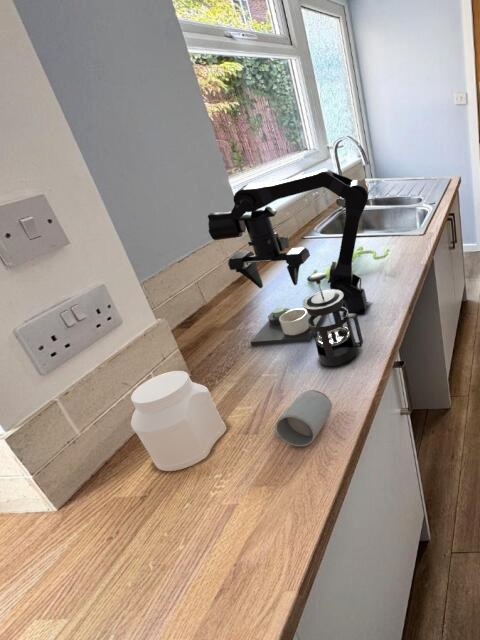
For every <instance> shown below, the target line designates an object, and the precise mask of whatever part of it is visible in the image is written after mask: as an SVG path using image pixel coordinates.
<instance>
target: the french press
mask: <svg viewBox="0 0 480 640" xmlns="http://www.w3.org/2000/svg"><path fill="white" fill-rule="evenodd" d="M312 274H313V273H312ZM312 274H311V275H308V276H307V278H306V281H308V282H309V283H315V284H316V285H318V288H319V291H317V292H314V293H312V294H310V295H308V296H307V297H305V298H304V299H303V301H302V308H303V309H305V310H307V312H308V314H310V315H311V316H310V317H309V319H308V324H309V327H310V329H311V330H312V334H313V336H312V338H313V340H314V343H315V347H316V352H317V356H318V362H319V365H320V366H321V367H323V368H325V369H333V370H334V369H338V368H342V367H345V366H348V365H349V364H351V363H352V362H354V361H355V360H356V359H357V358H358V356H359V353H360V349H359V348H361V347H362V346H363V344H364V339H363V335H362V331H361V327H360V322H359V318H358V315H356V313H353V314H348V310H347V309H346V308H344V307H342V306H343V297H344V294H343V292H342V291H340V290H335V289H330V288H329V289H323V290H322V287H321V284H322V282H321V281H323V280H325V278H326V277H327V274H326V273H322V272H317V273H316V274H313V275H312ZM341 312H342V313H343V312H345V313H347V315H346V316H343V318H342V316H341ZM331 314H332V317H333V321H334V323H332V322H331V318H330V315H331ZM323 315H326V316H327V320H328V323H329V325H324V326H319V327H316V326H315V325H314V321H313V320H314V319H315V318H317V317H318V316H323ZM350 319H352V320H353V322H354V327H355V330H356V334H357V339H358V341H357V340H356V338H355V336H354V331H353V328H352V327H353V326H352V324H351V320H350ZM345 324H346V325H345ZM339 348H350V349H348V350H347V351H345V352H343V353H340V354H338V355H335V353H334V350H336V349H339Z"/></svg>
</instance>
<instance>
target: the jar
mask: <svg viewBox="0 0 480 640" xmlns="http://www.w3.org/2000/svg"><path fill="white" fill-rule="evenodd" d="M130 400H131V402H132V404H133V406H134V407H135V410H133V413H132V416H131V421H130V427H131V429H132V430H133V432H134V433H135V434H136V435H137V437H138V439H139V440H140V442H141V443H142V444H143V446H144V448H145V450H146V452H147V453H148V454H149V456H150V458H151V459H152V460H151V461H152V462H153V464H154V466H155V467H156V468H157V469H158V470H159V471H162V472H163V471H164V472H173V471H174V472H175V471H180V470H183V469H186V468H189V467H192V466H194V465H197V463H200V462H202V461H203V460H204V459H206V458H207V457H208V456H209V454H210V453H211V450H212V448H213V447H214V445H215V444H216V443H217V441H218V440H219V439H220V438H221V437H222V436H223V435H224V434H225V433H226V431H227V426H226V424H225V422H224V420H223V419H222V417H221V415H220V413H219V410H218V408H217V407H216V404H215V403H214V400H213V398H212V395H211V393H210V390H209V388H208V387H207V386H205V385H203V384H200V383H197V382H195V381H192V379H191V377H190V375H189V374H188V373H187V372H186V371H184V370H172V371H168V372H165V373H161V374H158V375H156V376H153V377H151V378H150V379H148V380H146V381H144V382H142V383H141V384H140V385H139V386H138V387H136V388H135V389H134V391H133V392H132V393H131V396H130Z"/></svg>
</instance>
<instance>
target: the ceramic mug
mask: <svg viewBox="0 0 480 640" xmlns="http://www.w3.org/2000/svg"><path fill="white" fill-rule="evenodd" d="M332 410H333V403H332V401H331V399H330V398H329V397H328V396H327V395H326V394H325V393H323V392H321V391H319V390H316V389H314V390H313V389H310V390H306V391H304V392H302V393H300V394H299V396H297V397H296V398H295V399H294V401H293V402H292V403H291V404H290V406H289V407H288V408H286V410H285V411H284V412H283V413H282V414H281V416H279V418H278V419H277V421H276V423H275V426H274V427H273V430H272V431H273V433H274V434H275V435H276V437H278V438H280V439H281V440H282V441H284V442H285V443H287V444H288V445H291V446H296V447H307V446H310V445H311V444H312V443H313V442H314V440H315V439H316V437H318V434H319V433H320V432H321V430H322V428H323V427H324V425H325V422H327V420H328V418H329V417H330V415H331V412H332Z"/></svg>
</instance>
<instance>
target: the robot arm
mask: <svg viewBox="0 0 480 640" xmlns="http://www.w3.org/2000/svg"><path fill="white" fill-rule="evenodd" d="M321 188H324V189H327V190H329V191H330V192H331V193H333V194H335V195H336V196H338V197H340V198H341V199H344V209H345V220H344V224H343V225H344V227H343V230H342V237H341V242H340V248H339V254H338V258H337V259H336V261H337V263H336V262H335V261H331V262H330V266H331V267H330V266H329V267H330V273H329V278H328V279H327V284H329V289H335V290H340V291H342V292H343V294H344V297H343V306H342V307H344V308H346V309H347V310H348V314H353V313H356V315H357V316H364V315H365V314H366V312H367V310H368V308H369V306H370V305H371V304H370V301H368V299H367V296H366V291H365V288H362V281H363V280H362V277H360V276H358V275H356V274H354V273H353V271H354V270H353V267H354V266H353V262H352V258H353V253H354V251H355V246H356V241H357V235H358V230H359V224H360V219H361V217H362V214H363V212H364V211H365V208H366V205H367V203H368V201H369V186H368V185H367V184H366V183H365V182H364V181H362V180H359V179H355V180H354V179H351V178H350V177H348V176H344V175H342V174H339V173H336V172H334V171H332V170H330V169H328V168H321V169H320V170H317V171H314V172H309V173H307V174H303V175H299V176H295V177H291V178H288V179H283V180H279V181H276V182H257V183H256V182H255V183H247V184H245V185H243V186H242V187H241V188H239V190H237V191H236V192H235V193H234V195H233V203H234V205H233V208H232V209H231V210H230V211H223V212H210V213H209V214H208V215H207V218H208V233H209V236H210V237H211V239H212V240H214V241H220V240H221V241H223V240H229V239H236V238H242V236H243V233H246V231H247V235H248V237H249V241H248V242H247V244H248V246H249V247H252V249H253V251H250V250H249V251H248V250H247V251H238V252H236V253H235V254H233V255H232V256H231V257H230V258H229V259H228V260H227V267H228V268H229V270H230V271H235V272H236V273H240V274H241V275H243V276H244V277H245V278H247V279H248V280H249V281H251V282H252V283H253V284H254V285H255V286H257V288H259V289H263V287H264V284H263V280H262V277H261V274H260V272H259V270H258V263H269V262H280V261H281V262H282V261H285V263H286V264H287V266H286V269H287V272H288V274H289V277H290V279H291V282H292V284H293V285H294V286H297V285H298V280H299V273H300V268H301V265H303V264H305V262H306V261H307V260H308V259H309V258H310V256H311V254H310V251H309V249H308V248H306V247H305V246H304V247H303V246H302V247H291V249H290V250H289V251H288V252H284V251H285V249H286V248H287V249H288V248H290V244H289V236H279V234H278V232H275V230H274V227H273V224H272V220H271V218H273V217H274V218H275V216H276V215H277V213H278V210H276V209H275V208H272V207H271V206H270V204H272V203H273V202H275V201H278V200H280V199H284V198H288V197H291V196H295V195H299V194H302V193H303V194H304V193H306V192H311V191H314V190H317V189H321ZM264 207H265V208H264ZM262 208H264V209H262ZM247 213H249V214H247ZM341 315H342V317H345V316H346V315H347V313H345V312H342V314H341Z"/></svg>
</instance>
